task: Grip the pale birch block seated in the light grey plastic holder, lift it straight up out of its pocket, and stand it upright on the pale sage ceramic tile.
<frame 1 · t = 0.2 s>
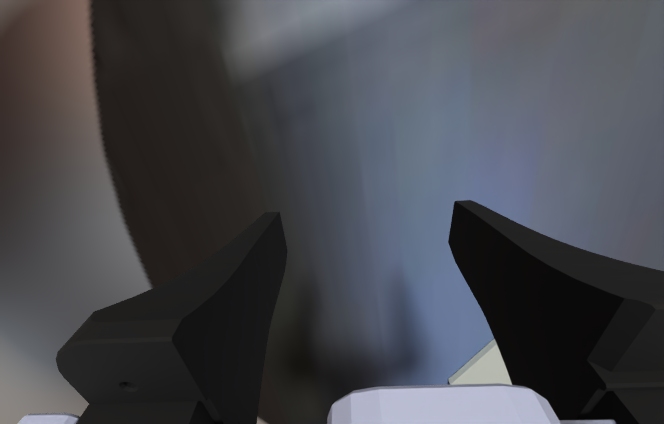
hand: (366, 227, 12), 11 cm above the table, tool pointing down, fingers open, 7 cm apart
tile: (520, 370, 29), on the table
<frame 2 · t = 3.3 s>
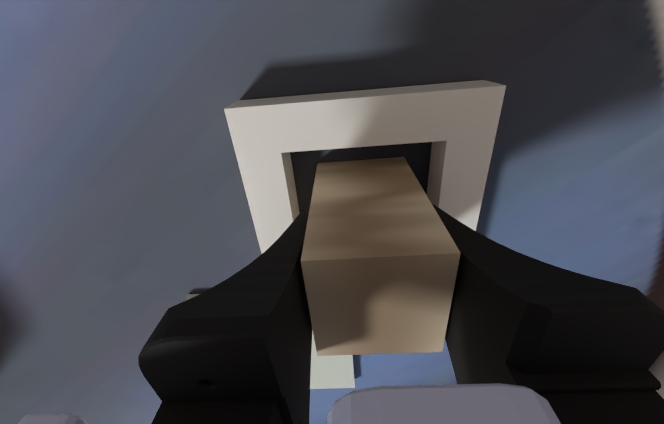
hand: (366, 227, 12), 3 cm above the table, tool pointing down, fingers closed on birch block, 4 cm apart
tile: (280, 341, 20), on the table
birch block: (367, 239, 11), in the holder, touching gripper
holder: (361, 198, 14), on the table
when the fingers open (5 cm above the table, at t = 7.8 s): birch block drops 1 cm, resting on tile.
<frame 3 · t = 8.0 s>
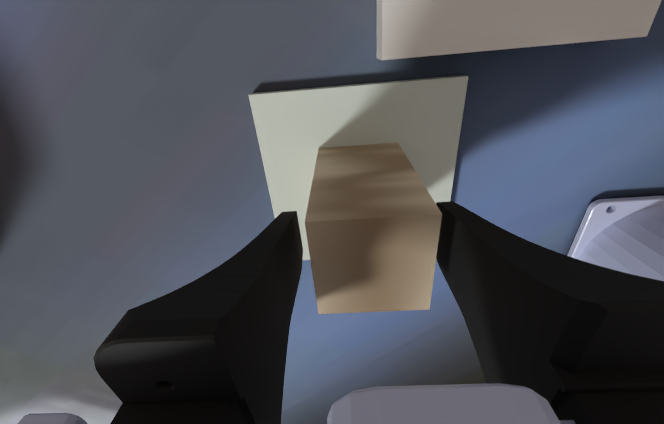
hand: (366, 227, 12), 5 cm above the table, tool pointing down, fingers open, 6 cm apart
tile: (358, 180, 16), on the table
birch block: (364, 214, 12), on the tile, point 4 cm above the table
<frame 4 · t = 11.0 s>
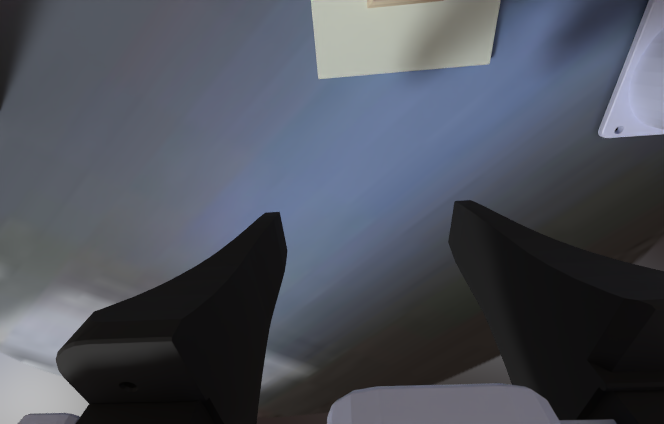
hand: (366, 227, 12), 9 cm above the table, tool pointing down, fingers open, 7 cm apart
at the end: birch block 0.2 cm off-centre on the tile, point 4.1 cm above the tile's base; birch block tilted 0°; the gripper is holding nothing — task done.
